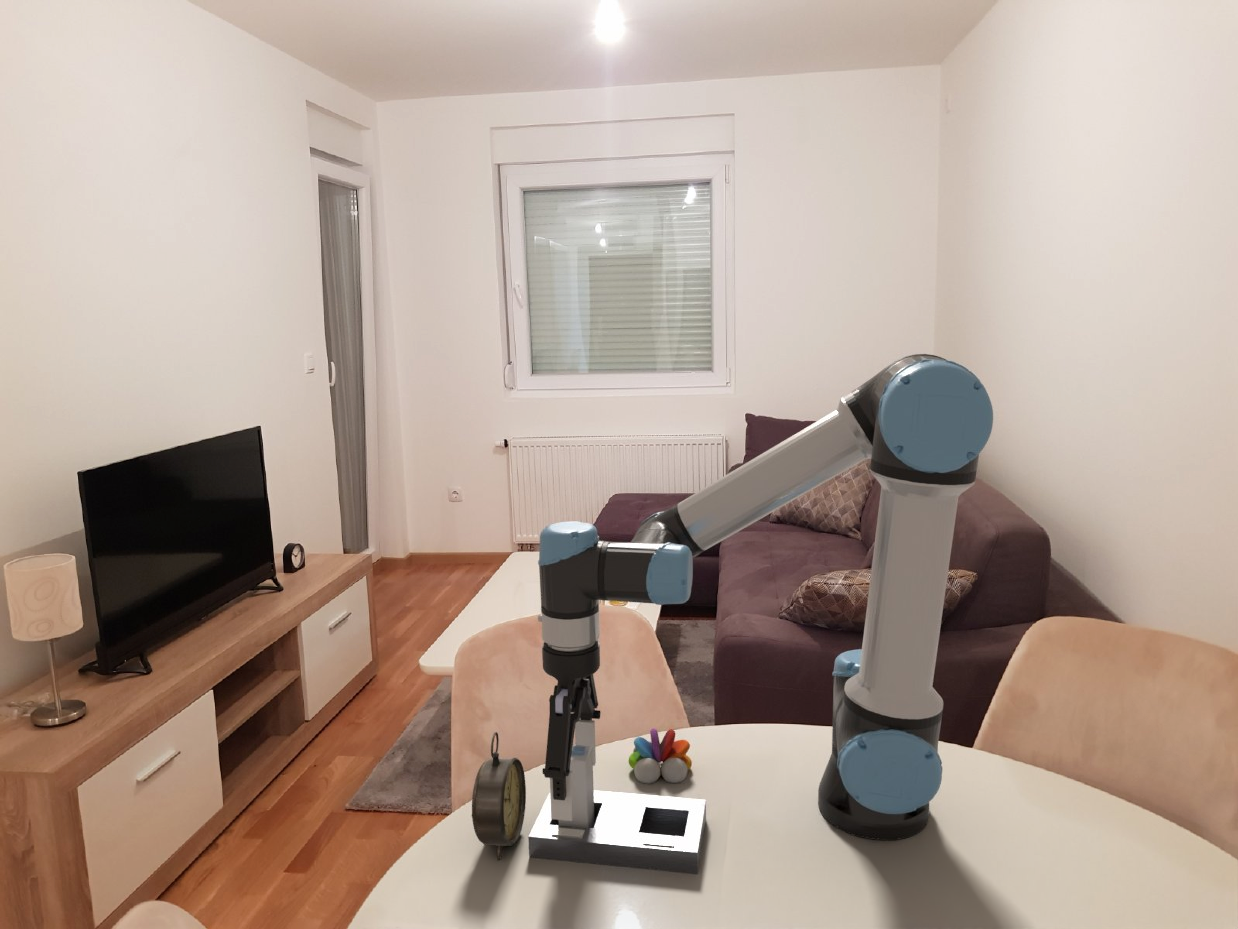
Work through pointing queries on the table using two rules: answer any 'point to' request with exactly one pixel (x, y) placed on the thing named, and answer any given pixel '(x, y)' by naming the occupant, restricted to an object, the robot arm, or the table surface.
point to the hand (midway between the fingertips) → (574, 789)
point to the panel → (627, 833)
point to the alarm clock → (499, 800)
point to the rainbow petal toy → (660, 758)
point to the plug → (582, 788)
